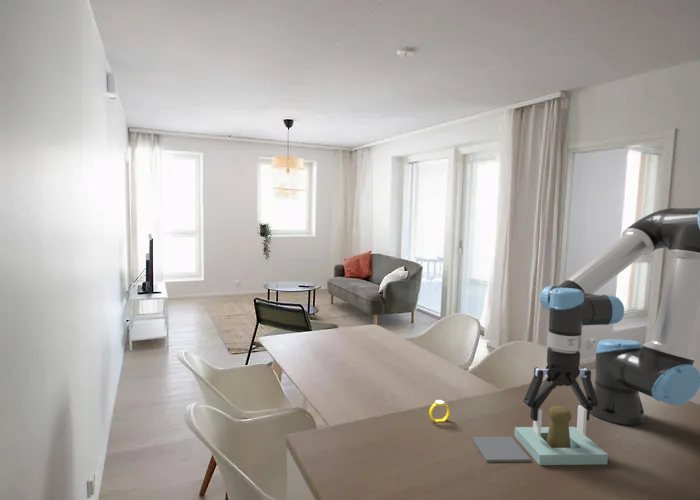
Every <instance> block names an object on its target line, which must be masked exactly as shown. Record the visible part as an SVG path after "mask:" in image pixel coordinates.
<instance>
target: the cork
mask: <svg viewBox="0 0 700 500" xmlns="http://www.w3.org/2000/svg"><path fill="white" fill-rule="evenodd" d="M548 417H549V419H550V422H549V426H548V427H549V431H548V436H547V440H546V442H547V443H548V444H549V445H550V446H551V447H552V448H571V446H570V434H569V427H570V422H571V420H572V413H571V411H570V410H569V409H568V408H566V407H564V406H560V405H554V406H552V407H550V408H549V410H548Z"/></svg>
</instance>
